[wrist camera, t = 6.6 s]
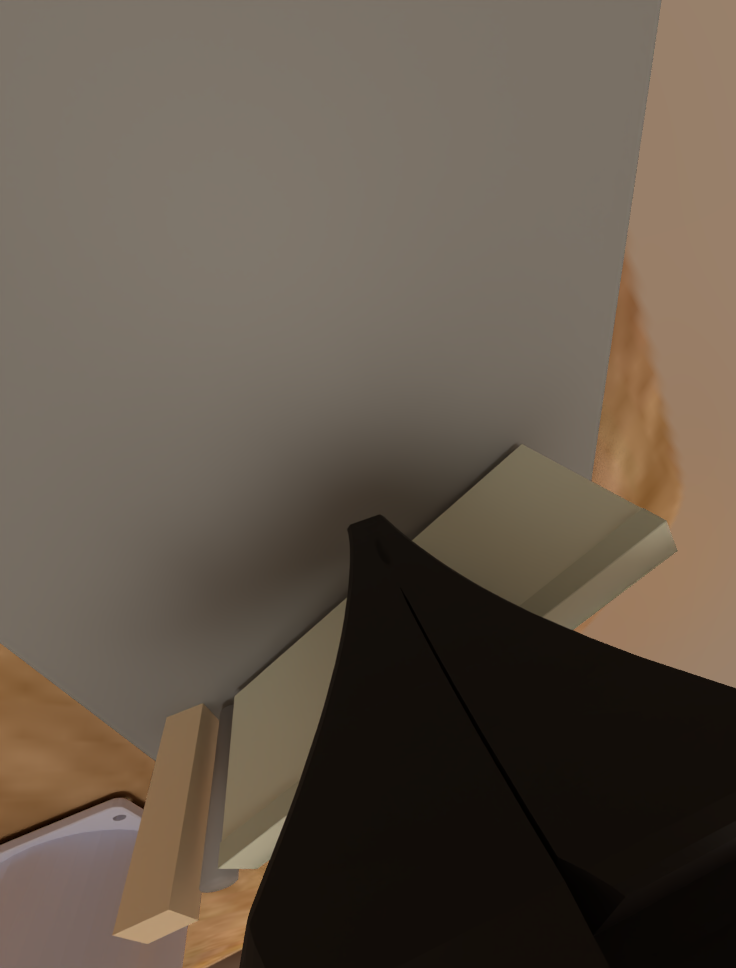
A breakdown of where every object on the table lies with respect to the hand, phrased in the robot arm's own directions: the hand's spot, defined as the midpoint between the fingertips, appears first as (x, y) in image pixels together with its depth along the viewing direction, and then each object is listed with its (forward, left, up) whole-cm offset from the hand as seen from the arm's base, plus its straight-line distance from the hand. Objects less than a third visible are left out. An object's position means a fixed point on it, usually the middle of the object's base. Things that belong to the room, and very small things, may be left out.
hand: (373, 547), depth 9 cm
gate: (-3, +1, -1) cm, 4 cm away
